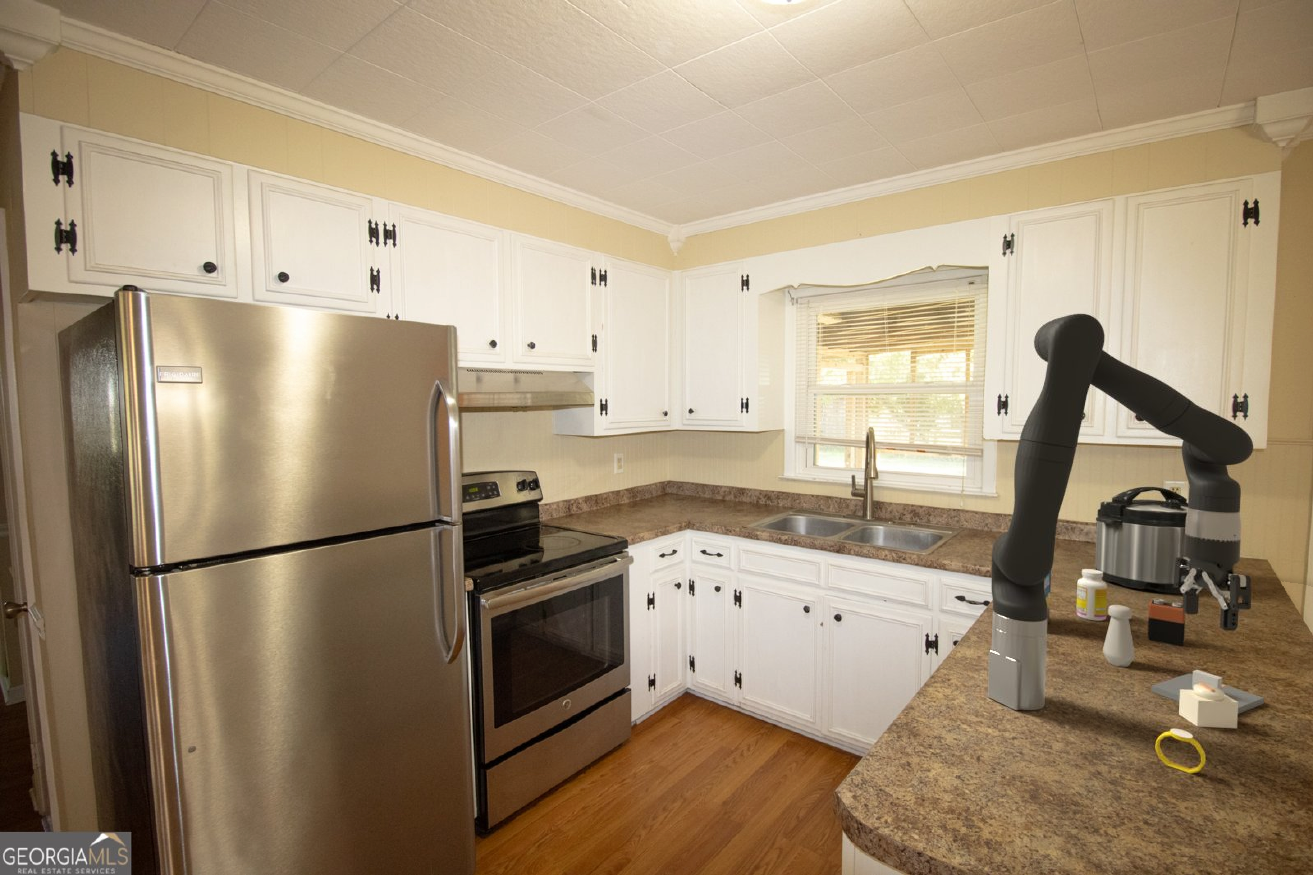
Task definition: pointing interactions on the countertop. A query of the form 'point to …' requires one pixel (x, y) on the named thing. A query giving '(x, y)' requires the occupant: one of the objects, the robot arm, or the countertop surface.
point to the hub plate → (1187, 685)
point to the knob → (1208, 707)
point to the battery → (1166, 622)
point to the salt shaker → (1119, 637)
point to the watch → (1181, 736)
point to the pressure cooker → (1141, 539)
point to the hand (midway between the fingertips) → (1208, 621)
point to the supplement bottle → (1092, 595)
